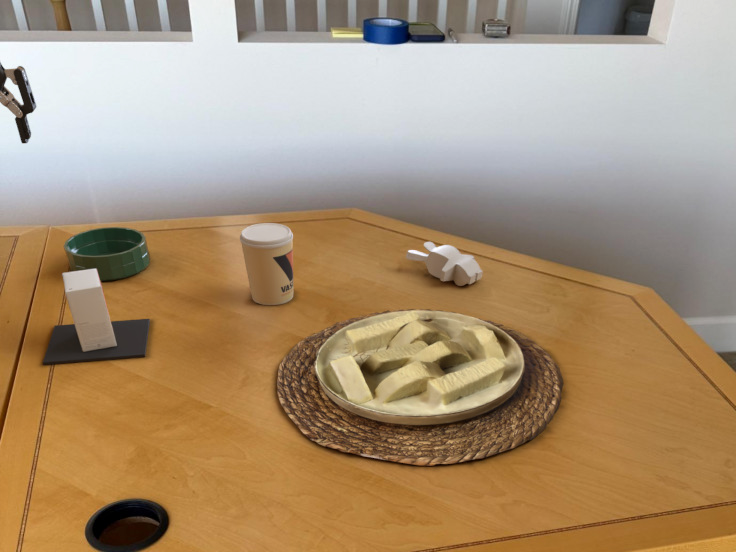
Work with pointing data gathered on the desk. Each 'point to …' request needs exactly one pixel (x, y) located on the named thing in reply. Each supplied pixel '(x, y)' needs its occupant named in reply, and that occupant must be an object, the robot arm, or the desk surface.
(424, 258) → the bunny figurine
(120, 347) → the mat
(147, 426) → the desk surface
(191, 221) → the desk surface
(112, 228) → the bowl
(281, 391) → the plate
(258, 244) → the coffee cup
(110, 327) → the small box
